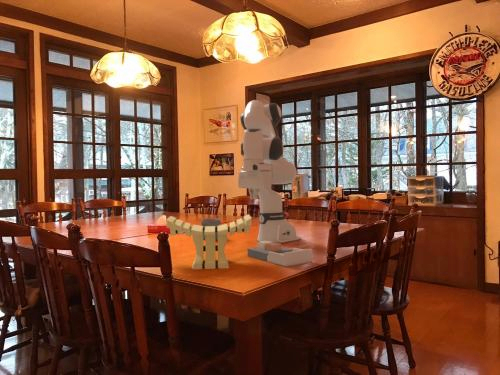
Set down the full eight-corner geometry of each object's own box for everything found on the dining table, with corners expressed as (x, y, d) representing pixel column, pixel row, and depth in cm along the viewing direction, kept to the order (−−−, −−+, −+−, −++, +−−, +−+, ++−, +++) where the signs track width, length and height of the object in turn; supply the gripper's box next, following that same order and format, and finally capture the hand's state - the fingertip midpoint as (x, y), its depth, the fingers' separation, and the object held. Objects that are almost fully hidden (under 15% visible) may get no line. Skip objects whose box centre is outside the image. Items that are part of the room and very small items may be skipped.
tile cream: (266, 246, 170) (266, 240, 170) (273, 248, 166) (273, 242, 166) (257, 247, 167) (257, 241, 167) (264, 249, 163) (264, 243, 163)
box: (293, 257, 162) (293, 244, 162) (312, 262, 153) (312, 248, 153) (267, 261, 155) (267, 248, 155) (285, 267, 146) (285, 253, 146)
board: (273, 252, 173) (273, 245, 173) (292, 257, 162) (292, 249, 162) (247, 255, 166) (247, 248, 166) (266, 261, 155) (266, 253, 155)
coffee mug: (217, 240, 205) (217, 220, 205) (199, 240, 207) (198, 220, 207) (224, 236, 219) (224, 217, 218) (206, 235, 220) (206, 217, 220)
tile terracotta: (274, 248, 165) (274, 242, 165) (281, 250, 161) (281, 244, 161) (265, 249, 163) (265, 243, 163) (272, 251, 159) (272, 245, 159)
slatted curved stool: (248, 258, 162) (248, 213, 161) (252, 267, 146) (251, 217, 145) (172, 260, 159) (171, 215, 159) (167, 270, 144) (166, 219, 143)
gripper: (234, 167, 179) (234, 198, 179) (261, 166, 162) (261, 200, 162) (246, 167, 182) (246, 198, 183) (273, 166, 165) (274, 200, 166)
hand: (254, 199), depth 172 cm, fingers closed
